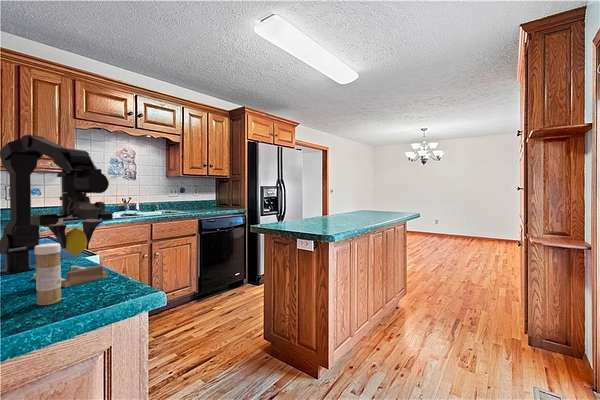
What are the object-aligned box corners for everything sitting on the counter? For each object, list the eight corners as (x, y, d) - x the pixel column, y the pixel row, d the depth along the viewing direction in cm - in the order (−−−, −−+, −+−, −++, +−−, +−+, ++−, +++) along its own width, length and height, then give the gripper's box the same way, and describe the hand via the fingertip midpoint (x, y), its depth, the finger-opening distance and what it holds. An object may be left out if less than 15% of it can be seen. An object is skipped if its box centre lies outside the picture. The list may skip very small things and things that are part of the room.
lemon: (67, 254, 89) (67, 227, 89) (89, 253, 91) (89, 226, 91) (60, 258, 84) (59, 229, 84) (84, 256, 86) (83, 228, 86)
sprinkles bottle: (46, 299, 72) (44, 242, 71) (66, 298, 72) (65, 242, 72) (30, 306, 67) (29, 246, 67) (52, 305, 67) (51, 246, 67)
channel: (33, 279, 88) (33, 267, 88) (75, 270, 98) (75, 259, 98) (65, 287, 80) (65, 274, 80) (107, 276, 90) (107, 265, 90)
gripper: (50, 193, 75) (52, 256, 75) (123, 193, 92) (124, 244, 92) (28, 193, 80) (30, 251, 80) (101, 192, 97) (102, 241, 97)
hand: (75, 246), depth 87 cm, fingers closed on lemon, 6 cm apart
